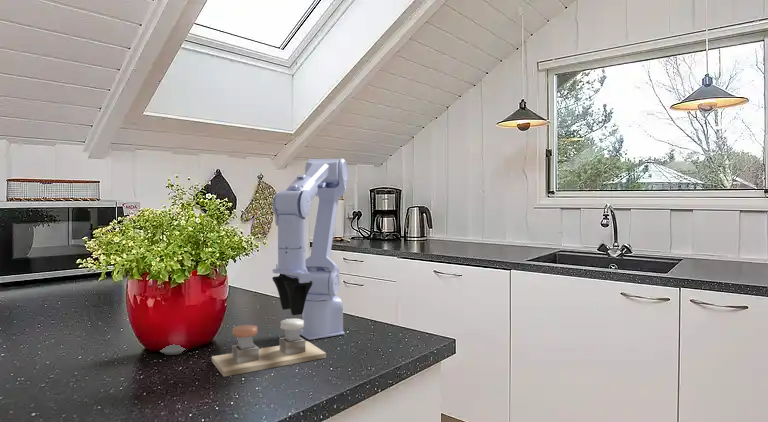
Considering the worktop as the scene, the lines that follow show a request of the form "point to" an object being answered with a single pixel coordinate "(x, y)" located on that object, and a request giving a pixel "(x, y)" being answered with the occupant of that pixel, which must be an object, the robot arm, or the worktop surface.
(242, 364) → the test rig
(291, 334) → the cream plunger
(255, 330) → the peach round domed part
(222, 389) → the worktop surface
